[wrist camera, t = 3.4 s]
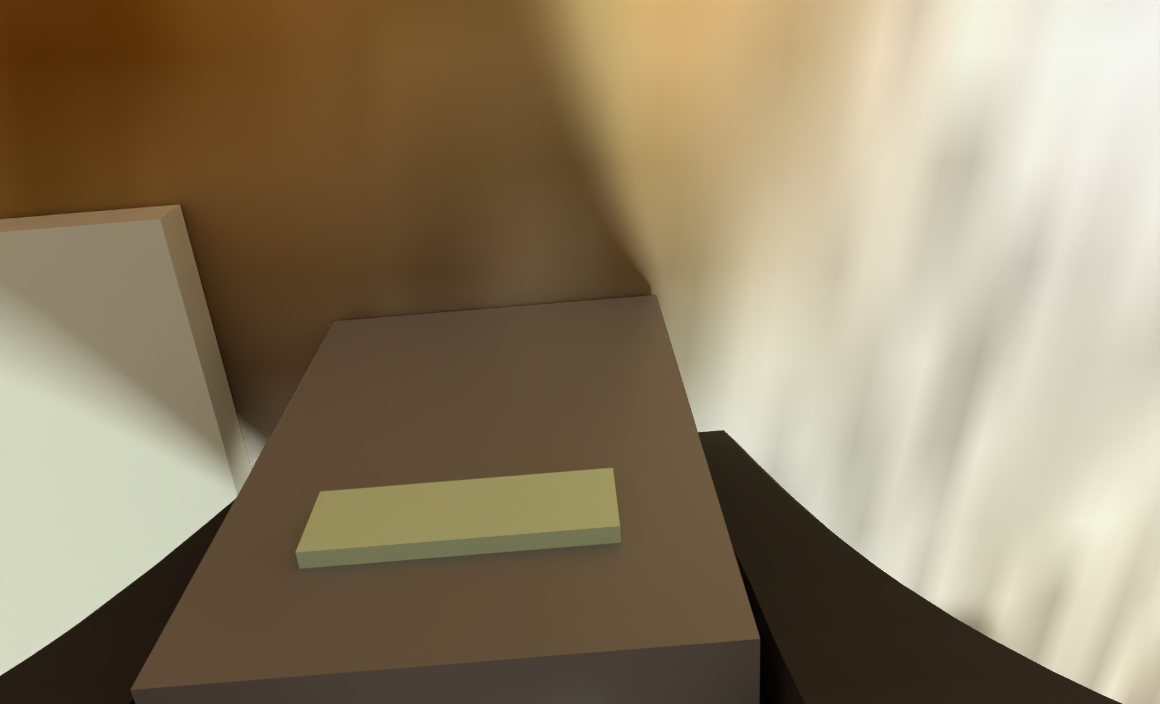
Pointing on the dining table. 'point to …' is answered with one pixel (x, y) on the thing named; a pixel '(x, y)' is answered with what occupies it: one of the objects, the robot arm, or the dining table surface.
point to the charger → (473, 528)
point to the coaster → (103, 413)
